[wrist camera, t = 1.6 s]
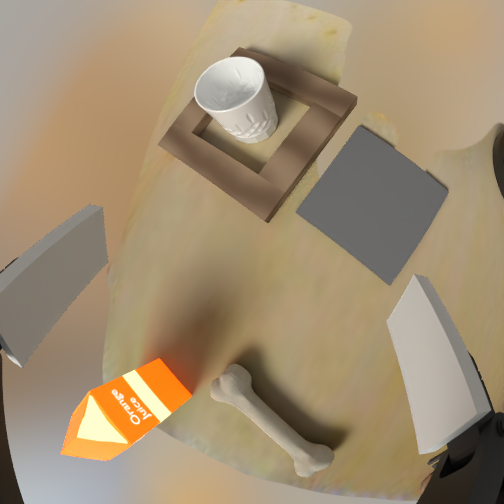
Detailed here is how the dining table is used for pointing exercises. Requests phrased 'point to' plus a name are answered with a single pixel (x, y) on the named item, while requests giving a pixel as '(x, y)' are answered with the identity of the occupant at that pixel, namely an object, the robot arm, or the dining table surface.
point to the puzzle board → (289, 152)
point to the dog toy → (269, 420)
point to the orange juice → (123, 411)
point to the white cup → (238, 98)
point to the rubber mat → (374, 203)
